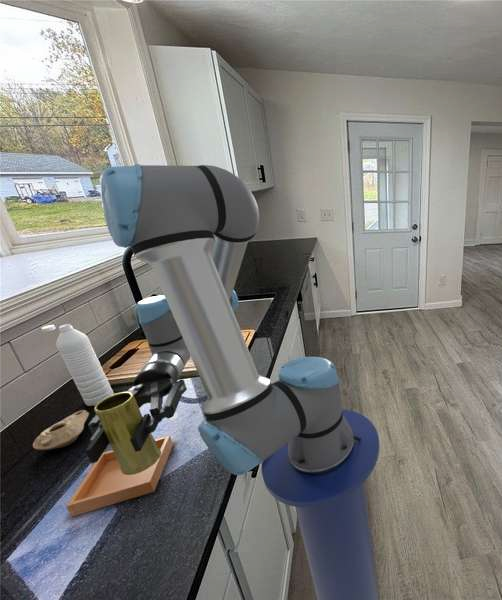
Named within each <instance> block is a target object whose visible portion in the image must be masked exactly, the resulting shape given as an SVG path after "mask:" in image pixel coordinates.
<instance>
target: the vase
mask: <svg viewBox="0 0 502 600" xmlns="http://www.w3.org/2000/svg"><path fill="white" fill-rule="evenodd" d="M93 407H94V408H93V410H94V412H95V415H96V414H97V416H98V418H99V420H100V422H101V424H102V427H103V429H104V431H105V433H106V436H107V438H108V440H109V445H110V447H111V449H112V450H113V452H114V454H115V456H116V459H117V461H118V463H119V464H120V468H121V472H122V473H123V474H125V475H133V474H137V473H140V472H142V471H144V470H146V469H148V468H149V467H151V466H152V465H153V464H155V463H156V462H157V460H158V459H159V458H160V456H161V450H160V449H159V448H158V445H157V443H156V442H155V440H154V439H155V437H154V436H153V434H152V433H149V435H148V437H147V439H146V441H145V443H144V445H143V447H142V449H141V451H137V452H135V450H134V448H133V445H132V443H131V441H130V439H131V437H132V435H133V433H134V432H135V430H136V428H137V427H138V425H139V423H140V421H141V420H142V418H143V416H144V415H143V414H142V411H141V410H140V409H141V408H139V407H138V404H137V402H136V400H135V398H134V396H133V394H132V393H131V392H127V391H122V392H117V393H114V395H111V396H109V397H107V398H105V399H103V400H101V401H100V402H99V403H97V404H96V405H95V406H93Z"/></svg>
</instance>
